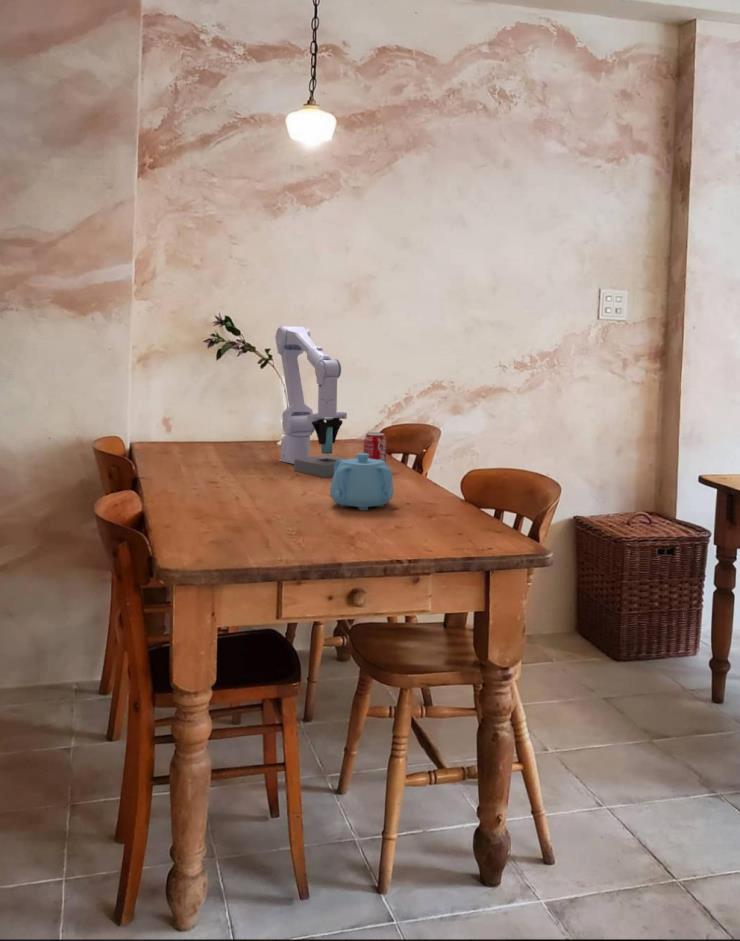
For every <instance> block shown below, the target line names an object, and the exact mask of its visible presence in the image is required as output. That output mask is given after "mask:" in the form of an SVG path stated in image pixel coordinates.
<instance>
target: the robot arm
mask: <svg viewBox="0 0 740 941" xmlns="http://www.w3.org/2000/svg"><path fill="white" fill-rule="evenodd" d="M274 338H275V343H276V350H277V354H279V355H280V358H281V364H282V371H283V375H284V381H285V382H284V383H285V388H286V393H287V394H286V395H287V401H288V407H287V408H285V409H284V411H283V412H282V415H281V416H282V422H281V423H282V424H281V425H282V430H283V432H284V433H285V435H284V436H283V437H282V439H281V446H280V448H281V451H280V452H281V454H280V456H281V457H280V459H278V461H279V462H282V463H287V464H293V465H294V459H301V458H309V457H311V436H313V433H315V432H316V436H317V440H318V444H319V445H321V444H323V445H324V444H325V442H326V431H327V427H333V444H335V443H336V439H337V435H338V432H339V430H340V428H341V426H342V424H343V420H347V416H348V413H347V412H345V411H340V412H339V411H337V410H338V409H337V408H338V405H337V404H338V379H339V378H340V376H341V374H342V365H341V362H340V361H339V359H337V358H336V359H335V358H331V357H330V355H329V354H328V353H327V352H326V351H325V349H323V347H322V346H318V345H316V344H315V343H314V341H313V340H312V338H311V331H310V329H309V328H308V327H307V326H306V325H305V326H304V325H303V326H283V325H279V327H277V329H276V332H275V336H274ZM304 352H305V353H306V358H307V361H308V362H309V363H310V364H311V366H312V367H313V368H314V375H315V377H316V384H317V387H318V388H317V389H318V390H317V392H318V393H317V398H318V399H317V413H314V412H313V409H312V408H311V407H310V406H308V405H307V404H306V403H305V398H304V392H303V391H304V390H303V385H302V379H301V372H300V367H299V360H298V357H299V356H300V355H302V354H303V353H304Z"/></svg>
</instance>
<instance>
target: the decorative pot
mask: <svg viewBox="0 0 740 941" xmlns="http://www.w3.org/2000/svg"><path fill="white" fill-rule="evenodd" d="M368 457H369V454H367V453H363V452H359V453H358V452H357V453H356V458H354V457H353V458H346V459H347V460H345V459H341V460H338V461H337V462H336V463H335V465H334V473H335V474H334V476H332V480H331V483H330V488H329V490H330V491H329V493H330V497H331V498H332V500H333V501H334V503H336V504H339V505H340V507H356V508H357V509H360V510H359V511H368V510H369V507H378V508H379V507H380V508H381V507H385V504H387V503H389V502H390V501H391V500H392V499H393V497H394V483H393V475H394V474H393V472H392V470H391V469H390V468H389V465H388V463H387V461H386V462H385V461H383V460H376V459H369V458H368Z"/></svg>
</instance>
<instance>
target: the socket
mask: <svg viewBox="0 0 740 941" xmlns="http://www.w3.org/2000/svg"><path fill="white" fill-rule="evenodd" d="M341 459H345V460H347V459H348V458H345V457H339V456H337V455H336V456H335V455H332V454H331V455H330V454H324V455H316V456H310V457H309V458H301V459H294V464H293V465H294V466H293V467H294V469H293V470H294V471H295V472H299V473H303V474H307V475H312V476H316V477H321V478H330V477H333V476H334V474H335V473H334V465H335V463H336V462H337V461H338V460H341Z"/></svg>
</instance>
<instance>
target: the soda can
mask: <svg viewBox="0 0 740 941" xmlns="http://www.w3.org/2000/svg"><path fill="white" fill-rule="evenodd" d="M385 435H386V434H385V433H383V432H376V431H375V432H367V433H366V434H365V436H364V439H363V452H362V453H367V454H369V457H368V458H369V459H376V460H383V461H385V462H386V463H387V438H386V436H385Z"/></svg>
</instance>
